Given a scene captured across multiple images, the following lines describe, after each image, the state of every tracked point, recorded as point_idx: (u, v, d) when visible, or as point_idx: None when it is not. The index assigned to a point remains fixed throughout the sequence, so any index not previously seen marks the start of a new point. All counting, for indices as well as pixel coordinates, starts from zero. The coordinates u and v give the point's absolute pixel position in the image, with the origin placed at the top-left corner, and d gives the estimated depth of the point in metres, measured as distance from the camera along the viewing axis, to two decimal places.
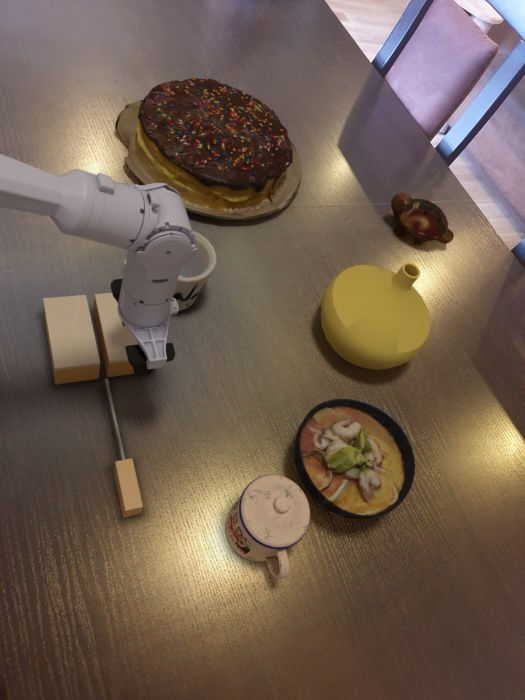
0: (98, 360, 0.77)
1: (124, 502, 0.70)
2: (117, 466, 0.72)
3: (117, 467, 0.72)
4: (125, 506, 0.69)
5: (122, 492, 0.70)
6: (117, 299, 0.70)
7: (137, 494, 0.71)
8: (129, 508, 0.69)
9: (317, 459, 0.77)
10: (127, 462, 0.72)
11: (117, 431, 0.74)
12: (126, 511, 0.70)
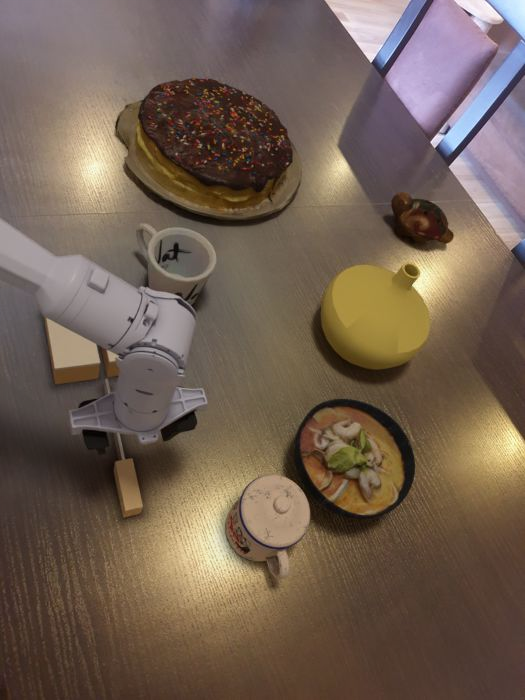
0: (98, 360, 0.77)
1: (124, 502, 0.70)
2: (117, 466, 0.72)
3: (117, 467, 0.72)
4: (125, 506, 0.69)
5: (122, 492, 0.70)
6: None
7: (137, 494, 0.71)
8: (129, 508, 0.69)
9: (317, 459, 0.77)
10: (127, 462, 0.72)
11: None
12: (126, 511, 0.70)
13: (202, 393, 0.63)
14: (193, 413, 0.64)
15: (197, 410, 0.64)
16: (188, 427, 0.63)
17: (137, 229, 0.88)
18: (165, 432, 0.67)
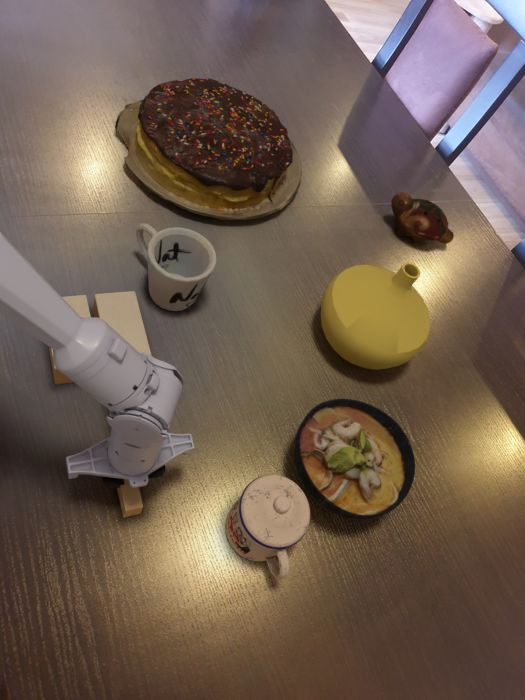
0: None
1: (124, 502, 0.70)
2: None
3: None
4: (125, 506, 0.69)
5: (122, 492, 0.70)
6: None
7: (137, 494, 0.71)
8: (129, 508, 0.69)
9: (317, 459, 0.77)
10: None
11: None
12: (126, 511, 0.70)
13: (190, 438, 0.69)
14: None
15: None
16: (157, 474, 0.67)
17: (137, 229, 0.88)
18: None
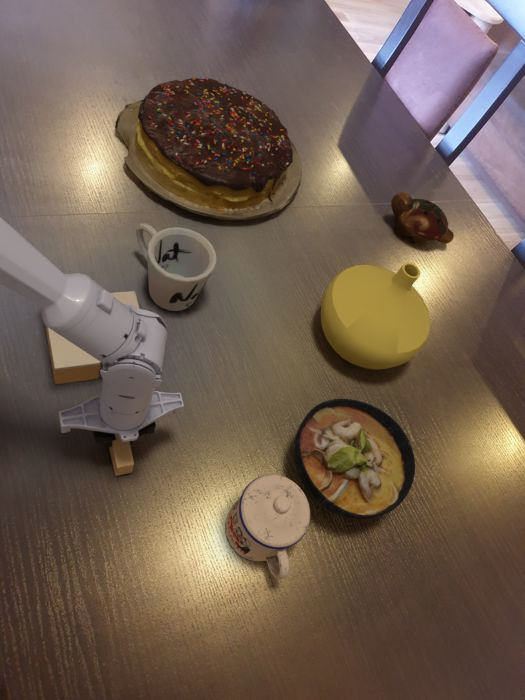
0: (98, 360, 0.77)
1: (116, 459, 0.72)
2: None
3: None
4: (117, 463, 0.72)
5: (114, 450, 0.72)
6: None
7: (129, 452, 0.73)
8: (121, 465, 0.71)
9: (317, 459, 0.77)
10: None
11: None
12: (118, 468, 0.72)
13: (179, 397, 0.71)
14: None
15: None
16: (147, 430, 0.69)
17: (137, 229, 0.88)
18: None
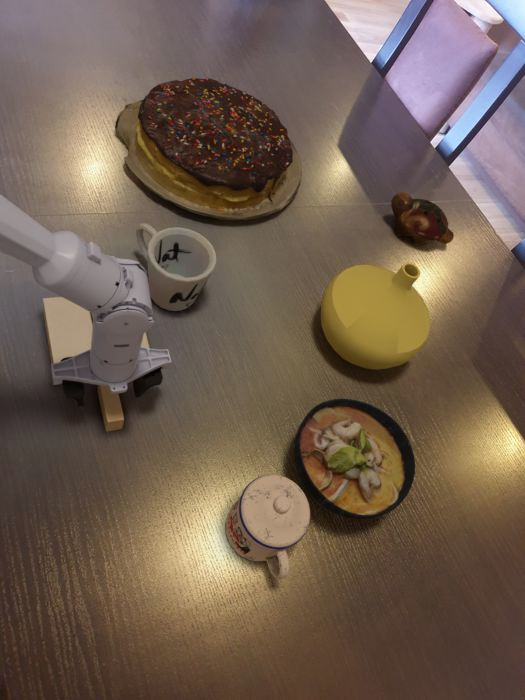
0: None
1: (106, 415, 0.75)
2: None
3: None
4: (107, 418, 0.75)
5: (105, 406, 0.75)
6: None
7: (119, 408, 0.76)
8: (111, 420, 0.75)
9: (317, 459, 0.77)
10: None
11: None
12: (108, 423, 0.75)
13: (167, 353, 0.74)
14: (159, 371, 0.74)
15: (163, 368, 0.74)
16: (154, 382, 0.73)
17: (137, 229, 0.88)
18: (136, 389, 0.77)
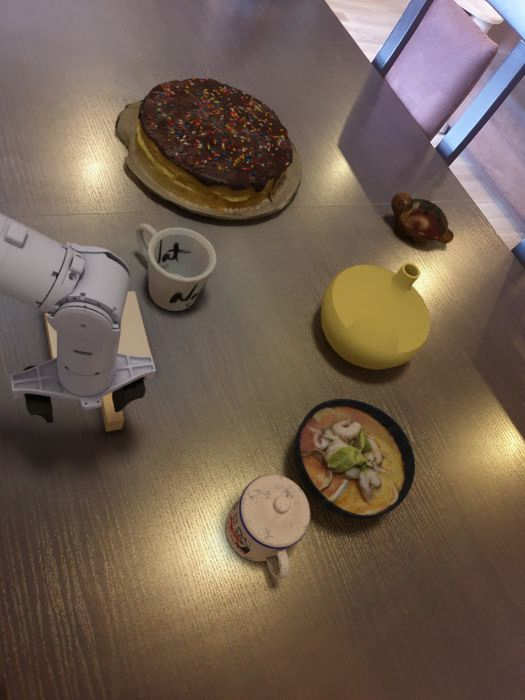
0: None
1: (106, 415, 0.75)
2: None
3: None
4: (107, 418, 0.75)
5: (105, 406, 0.75)
6: None
7: None
8: (111, 420, 0.75)
9: (317, 459, 0.77)
10: None
11: None
12: (108, 423, 0.75)
13: (151, 361, 0.62)
14: (142, 381, 0.63)
15: (146, 378, 0.63)
16: (136, 395, 0.62)
17: (137, 229, 0.88)
18: (116, 402, 0.66)
